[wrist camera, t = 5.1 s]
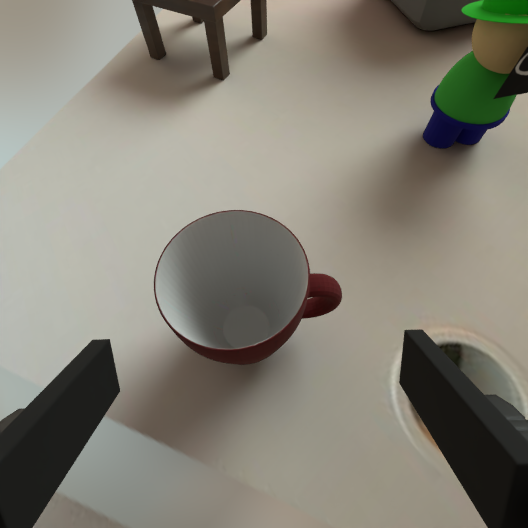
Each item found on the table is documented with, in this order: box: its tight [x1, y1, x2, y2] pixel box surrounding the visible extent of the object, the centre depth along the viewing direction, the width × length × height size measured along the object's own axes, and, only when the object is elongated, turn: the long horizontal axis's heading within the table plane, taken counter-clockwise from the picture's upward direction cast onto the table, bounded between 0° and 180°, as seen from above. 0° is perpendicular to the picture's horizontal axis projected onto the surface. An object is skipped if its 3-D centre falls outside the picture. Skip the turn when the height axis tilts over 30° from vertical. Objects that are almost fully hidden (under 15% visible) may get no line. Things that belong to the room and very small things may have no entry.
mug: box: [154, 210, 342, 365], centre depth 21 cm, size 10×8×10 cm
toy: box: [423, 0, 528, 148], centre depth 28 cm, size 9×9×15 cm
